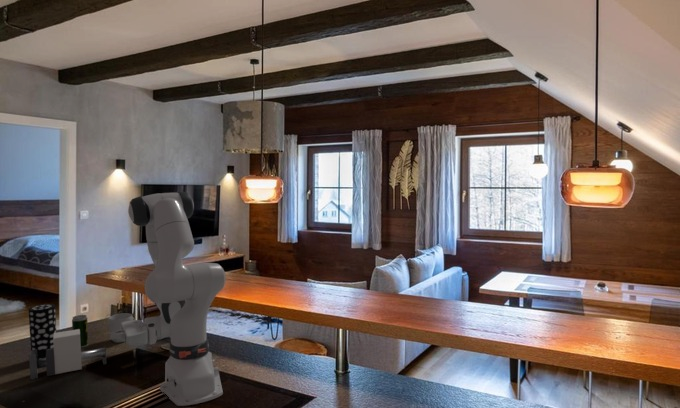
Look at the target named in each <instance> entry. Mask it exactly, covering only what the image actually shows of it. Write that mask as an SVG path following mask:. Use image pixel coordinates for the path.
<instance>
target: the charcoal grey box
mask: <svg viewBox="0 0 680 408" xmlns="http://www.w3.org/2000/svg"><path fill="white" fill-rule="evenodd" d="M45 368H46V377H50V376H55V375H56V374H55V361H54V348H52V349H47V350H46V367H45Z"/></svg>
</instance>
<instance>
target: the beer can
mask: <svg viewBox="0 0 680 408" xmlns="http://www.w3.org/2000/svg"><path fill="white" fill-rule="evenodd" d="M71 325H72V326H71V328H72V329H71V330H77V329H80V342H81V349H82V348H83V349H84V348H85V347H88V346H89V327H88V326H89V325H88V317H87V315H86V314H80V315H79V314H78V315H75V316H72V319H71Z"/></svg>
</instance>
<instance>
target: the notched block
mask: <svg viewBox="0 0 680 408" xmlns="http://www.w3.org/2000/svg"><path fill="white" fill-rule="evenodd" d="M53 343H54V361H55V375H59V374H63V373H68V372H69V373H70V372H73V371H79V370H83V365H82V364H83V363H82V361H81V352H82V348H81V342H80V329H77V330H72V329H70V330H65V331H57V333H54V336H53Z"/></svg>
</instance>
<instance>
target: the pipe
mask: <svg viewBox="0 0 680 408" xmlns="http://www.w3.org/2000/svg"><path fill="white" fill-rule="evenodd" d="M98 358H102V363H103V365H104V366H105V365H107V362H108V361H107V348H106V347H100V348H96V349H95V348H94V349H91V350H83V351H81V362H82V361H86V360H92V359H98ZM28 359H29V360H28V363H29V377H30V378H29V379H32V380H36V379H35V378H37V379H38V378H39V369H43V368H46V358H44V359H39V360H38V358H37V349H35V350H31V349H30V350H29V354H28Z"/></svg>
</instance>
